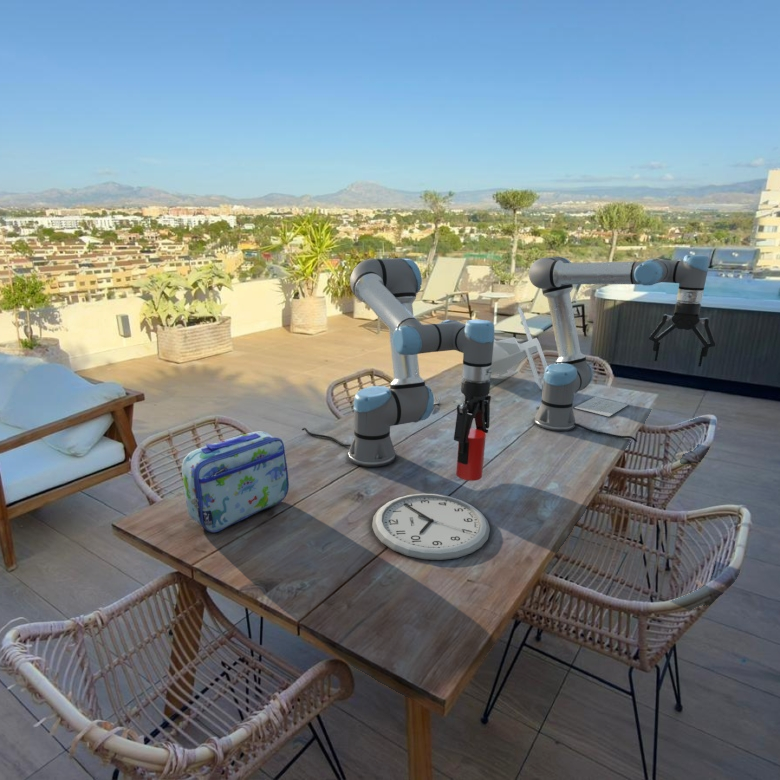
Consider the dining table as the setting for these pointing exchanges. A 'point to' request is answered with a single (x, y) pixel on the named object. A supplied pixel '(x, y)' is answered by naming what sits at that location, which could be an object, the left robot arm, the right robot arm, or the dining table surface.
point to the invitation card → (601, 406)
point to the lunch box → (234, 479)
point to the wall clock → (431, 526)
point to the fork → (436, 401)
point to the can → (473, 457)
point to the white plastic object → (516, 353)
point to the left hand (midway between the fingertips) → (470, 458)
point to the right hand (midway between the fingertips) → (677, 362)
